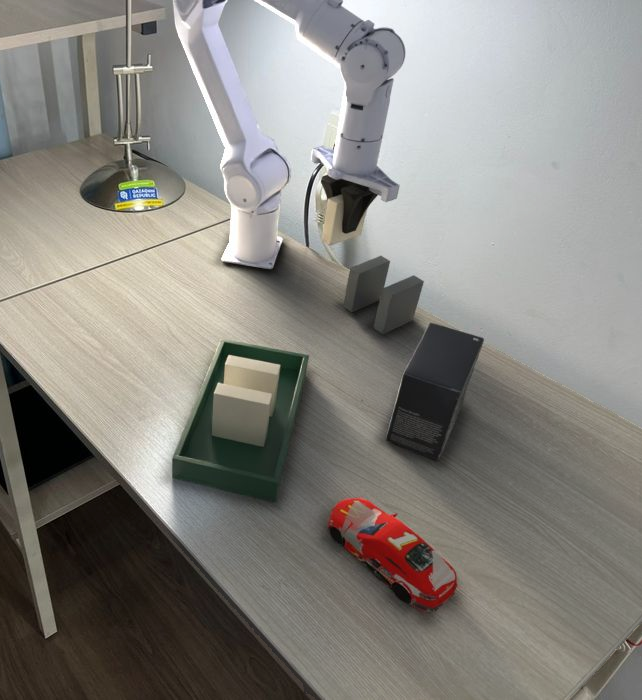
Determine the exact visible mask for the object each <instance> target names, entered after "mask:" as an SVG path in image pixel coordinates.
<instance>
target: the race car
mask: <svg viewBox="0 0 642 700" xmlns="http://www.w3.org/2000/svg"><path fill="white" fill-rule="evenodd" d="M397 515H398V512H394V513H392V514H389V513H387V512H386V511H384V510H382V509H381V508H379V507H378V506H377V505H376V504H374V503H373V502H372V501H370V500H367V499H364V498H360V497H354V498H345V499H343V500H341V501H339V502H337V503H336V504H335V505H334V506H333V507H332V509H331V510H330V513H329V516H328V523H327V530H328V531H329V534H330V536H331V538H332V539H333V541H334V542H335V543H337V544H339V545H344V546H343V547H344V548H345V549H346V550H347V551H348V552H349V553H350V554H351V555H353V556H354V557H355V558H356V559H357V560H359V561H360V562H361V563H362V564H363V565H364V566H365V567H366V568H368V569H369V571H371V572H372V573H373V575H375V576H377V578H379V579H380V580H381V581H382V582H383V583H384V584H386V586H387V587H389V588H390V589H391V588H392V589H393V592H394V594H395V595H396V596H397V598H398V599H399V600H401V601H402V602H404V603H409V602H410V603H409V605H410V606H411V607H414V608H415V609H418V610H420V611H424V612H428V613H429V612H430V613H431V612H433V611H434V612H437V611H438V610H439V609H440V608H441V607H442V606H444V605H445V604H446V603H447V602H448V601H449V600H450V599H451V598H452V597H453V596H454V595H455V594H456V592H455V591H456V590H457V587H458V576H457V572H456V570H455V568H454V567H453V566H452V565H451V564H450V563H449V562H448V561H447V560H446V559H445V558H444V557H442V556H441V555H440V554H439V553H438V551H436V550H435V548H433V547H432V546H431V545H430V544H429V543H427V542H426V540H424V539H423V538H422V537H421V536H419V534H417V533H416V531H414V530H413V529H411V528H410V527H409V526H407V524H405V523H404V522H402V521H401V520H399V519H398V518H397Z"/></svg>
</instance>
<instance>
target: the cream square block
mask: <svg viewBox="0 0 642 700" xmlns="http://www.w3.org/2000/svg"><path fill="white" fill-rule="evenodd" d="M325 210H326V211H325V215H324V216H325V217H324V223H323V229H322V234H321V235H322V237H321V241H322V242H323V243H325V244H326V245H328V246H330V247H331V246H333V245H337V244H339V243H342V242H344V241H348V240H351V239H353V238H356V237H359V236H361V235H362V233H363V227H364V223H365V219H366V218H365V216H366V212H367V210H366V211H365V213H364V215H363V217H362V218H361V220H360V222H359V225H358V227H357V229H356V231H353V232H350V233H347V234H345V233H343V232H342V221H343V214H344V203H343V196H342V194H341V195H338V196H335V197H332V198H329V199H328V200H327V204H326V209H325Z"/></svg>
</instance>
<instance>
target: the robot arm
mask: <svg viewBox="0 0 642 700" xmlns="http://www.w3.org/2000/svg"><path fill="white" fill-rule="evenodd" d="M254 1H255V2H257V3H259V4H260V5H261V6H264V7H265V8H266V9H268V10H270V11H272V12H274V13H275V14H277V15H278V16H280V17H282V18H284V19H285V20H287V21H288V22H290V23H292V24H293V25H294V27H295V32H296V38H297V40H298V41H300V42H301V43H302V44H304V45H306V46H307V47H308V48H310V49H311V50H312V51H314V52H316V53H317V54H318V55H320V56H321V57H322V58H324V59H326V60H327V61H328V62H330V63H331V64H333V66H335V67H337V68H339V70H340V75H341V78H342V80H343V82H344V91H343V96H342V102H341V106H340V107H341V108H340V113H339V121H338V127H337V133H336V134H337V135H336V139H335V146H334V149H333V148H329V147H327V146H325V145H321V146H316V147H314V148H312V151H311V157H310V162H311V163H313V164H315V165H317V164H320V165H322V166H324V167H326V168H327V172H326V174H325V175H323V176H321V177H320V184H321V186H322V188H323V190H324V194H325V196H326V200H327V201H328V199H329V198H332V197H335V196H338V195H341V194H342V196H343V203H344V214H343V221H342V232H343V233H345V234H347V233H350V232H353V231H356V229H357V227H358V225H359V222H360V220H361V218H362V217H363V215H364V213H365V211H366V212H367V210H368V209H369V207H370V205H371V204H372V203H373V202H374V201H375V200H376V198H377V197H378V196H379V197H380V200H381V201H383V202H384V203H388V202H392V201H394V200H397V199H398V195H399V191H400V187H401V186H400V184H399V183H397V182H395V181H394V180H392V179H391V177H389V176H388V175H387V174H386V173H385V172H384V171H383V170H382V169H381V167H379V166H378V161H379V157H380V152H381V147H382V142H383V137H384V132H385V128H386V123H387V118H388V114H389V107H390V103H391V96H392V90H393V85H394V81H395V80H394V78H393V77H394V76H395V75H396V74H397V73H398V72H399V71H400V70H401V68H402V67H403V65H404V63H405V59H406V46H405V43H404V41H403V39H402V38H401V36H400V35H399V34H398V33H396V31H395V30H394V29H393V28H391V27H387V26H386V27H385V26H384V27H383V26H382V27H378V28H375V23H374V22H373V21H371V20H370V19H367V20H364V19H362V18H360V17H359V16H357V15H356V14H355V13H353V12H352V11H350V10H348V9H347V8H345V6H342V5H343V3H344V0H254ZM227 2H229V0H172V7H173V18H174V24H175V25H174V26H175V30H176V32H177V35H178V38H179V39H180V42H181V45H182V47H183V49H184V52H185V54H186V57H187V60H188V61H189V64H190V66H191V69H192V72H193V75H194V76H195V78H196V81H197V84H198V86H199V88H200V90H201V93H202V95H203V97H204V101H205V103H206V105H207V107H208V110H209V112H210V115H211V117H212V119H213V122H214V124H215V127H216V129H217V132H218V134H219V137H220V139H221V142H222V143H223V146H224V147H225V149H224V153H223V157H222V160H221V163H220V168H219V169H220V172H221V174H222V177H223V182H224V183H223V189H224V194H225V197H226V199H227V201H228V202H229V203H230V207H231V213H230V214H231V215H230V227H229V228H230V231H229V243H228V244H227V246H226V249H225V250H224V253H223V255H222V257H221V261H222V262H224V263H228V264H229V263H230V264H235V265H241V266H247V267H254V268H261V269H266V270H272V269H273V268H274V265H275V263H276V260H277V257H278V254H279V252H280V248H281V246H282V243H283V237H281V236H278V227H279V220H280V219H279V218H280V210H281V209H280V208H281V197H282V192H283V191H282V190H283V189H285V188H286V187H287V186H288V185H289V183H290V181H291V178H292V167H291V165H290V162H289V161H288V159H287V158H286V156H285V155H284V154H283V153H282V152H281V151H280V150H279V149H278V146H277V144H276V142H275V139H273V138H272V137H270V136H268V135H266V134H264V133H263V132H262V131H261V129H260V126H259V124H258V122H257V119H256V116H255V114H254V112H253V109H252V107H251V104H250V101H249V99H248V96H247V93H246V92H245V88H244V86H243V84H242V82H241V79H240V76H239V74H238V72H237V68H236V66H235V63H234V61H233V59H232V56H231V54H230V51H229V49H228V46H227V44H226V42H225V41H226V40H225V39H224V36H223V34H222V30H221V28H220V26H219V22H220V19H221V16H222V14H223V12H224V8H225V6H226V3H227Z"/></svg>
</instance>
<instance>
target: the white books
mask: <svg viewBox="0 0 642 700" xmlns="http://www.w3.org/2000/svg"><path fill="white" fill-rule="evenodd" d="M280 366H281V365H278V364H273V363H268V362H263V361H258V360H252V359H247V358H242V357H237V356H232V355H228V358H227V361H226V363H225V372H224V384H221V383H218V384H217V387H216V389H215V392H214V401H213V419H212V436H216V437H221V438H225V439H230V440H234V441H239V442H243V443H248V444H252V445H257V446H261V447H264V445H265V441H266V437H267V431H268V423H269V416H271V417H272V416H273V412H274V408H275V403H276V395H277V388H278V380H279V373H280Z"/></svg>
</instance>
